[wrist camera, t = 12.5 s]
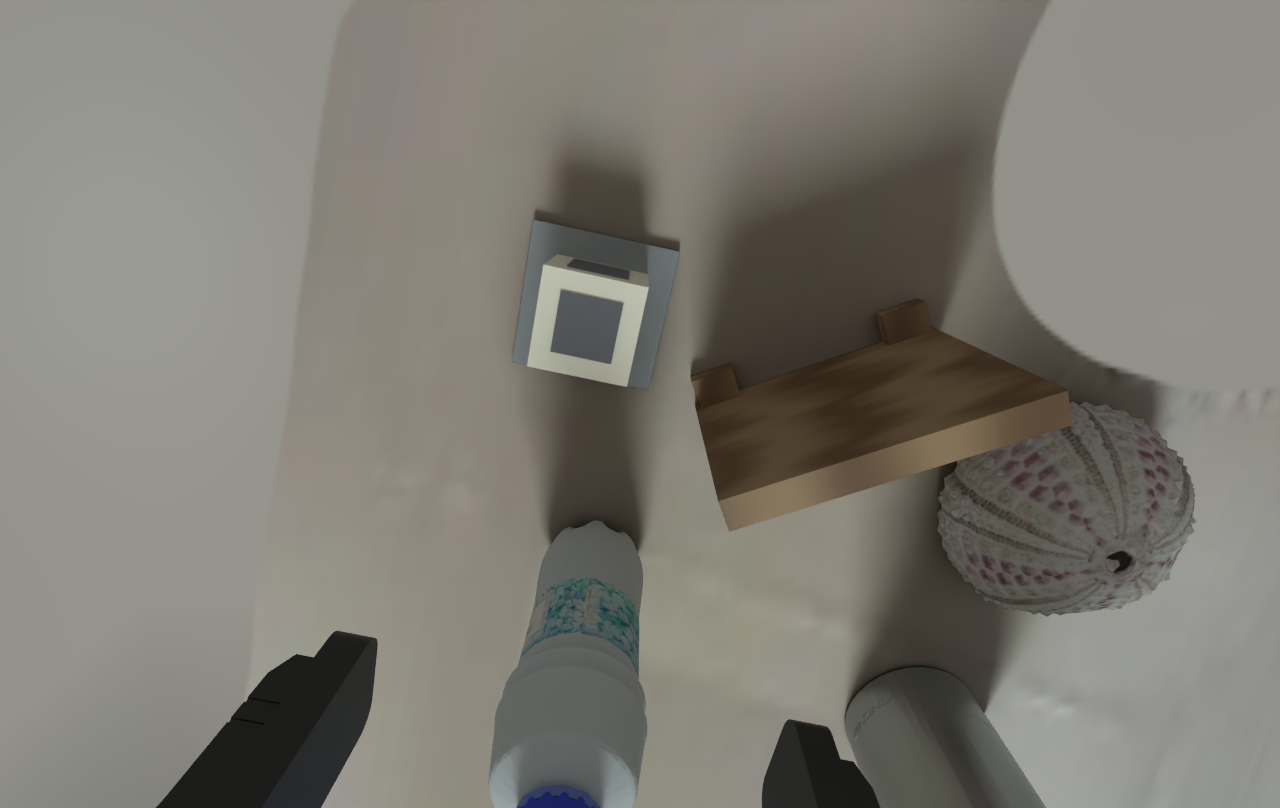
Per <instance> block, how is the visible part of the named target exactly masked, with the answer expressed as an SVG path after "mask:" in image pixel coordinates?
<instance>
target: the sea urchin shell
mask: <svg viewBox="0 0 1280 808" xmlns="http://www.w3.org/2000/svg"><path fill="white" fill-rule="evenodd" d="M1070 409H1071V416H1072V423H1073V425H1071V426H1068V427H1065V428H1061V429H1058V430H1055V431H1052V432H1048V433H1045V434H1042V435H1039V436H1036V437H1032V438H1029V439H1026V440H1023V441H1019V442H1016V443H1013V444H1010V445H1007V446H1003V447H1000V448H997V449H994V450H990V451H987V452H984V453H981V454H978V455H974V456H971V457H968V458H965V459H961V460H958V461H957V467H956V468H955V470H954V472H953V473H952V474H950V475H948V476H947V477H945V478H944V483H945V488H944V489H943V490H942V491H940V495H939V496H938V499H939V501H940V503H941V507H942V508H941V510H940V511H939V512H938V514H937V515H938V518H939V526H938V529H937V530H938V532H939V533H940V535H941V536H942V538H943V540H942V546H943V549H944V550H945V551H946V552H947V556H948V559H949V560H950V561H951V564H952V566H954V567H955V568H957V569H958V572H959V573H960V574H962V575H963V578H964V581H966V582H970V583H971V584H972V585H973V587H974V590H975V593H976V594H981V595H982V596H983V599H984V601H992V602H993V603H994V604H999V605H1000V606H1001V607H1002V608H1003V609H1007V608H1010V609H1012V610H1023V611H1029V612H1031V613H1032V614H1037V613H1041V614H1043V615H1045V616H1049V615H1051V614H1053V613H1055V614H1059V615H1063V614H1066V613H1079V612H1085V611H1095V610H1100V609H1105V608H1107V609H1110V610H1114V609H1117V608H1119V609H1120V608H1122V606H1123V605H1125V604H1126V603H1129V602H1133V601H1138V600H1140V599H1142V598H1143V597H1144V596H1147V595H1151V592H1152V591H1153V590H1155V589H1156V587H1157V585H1158V584H1159V583H1160V582H1162V581H1164V580H1170V579H1169V578H1170V569H1171V567H1172V565H1173V563H1174V562H1175V560H1176V558H1177V555H1178V553H1179V552H1180V551H1181V549H1182V547H1183V545H1184V544H1185V543H1187V542H1188V540H1187V537H1188V536H1189V535H1191V534H1192V533H1193V532H1194V530H1193V528H1192V526H1191V525H1193V524H1194V523H1196V522H1197V521H1196V520H1195V519H1194V518H1193V517H1192V515H1193V512H1194V511H1193V510H1194V501H1195V500H1194V497H1195V494H1194V488H1193V484H1192V482H1191V477H1190V475H1189V474H1188V473H1187V472H1186V470H1187V467H1186V466H1184V465H1183V458H1181V457H1178V456H1177V451H1175V450H1172V449H1169V448H1168V447H1167V441H1166V440H1164V439H1162V438H1161V435H1160V433H1159V432H1158V431H1155V430H1152V429H1150V428H1149V426H1148V424H1146V423H1144V420H1143V418H1132V417H1131V416H1130V415H1129V413H1128V412H1126V411H1124V410H1113V409H1112V408H1110V407H1109V406H1108V405H1106V404H1104V405H1098V406H1095V405H1091V404H1089V403H1088V402H1086V401H1085V402H1083V403H1082V404H1080V405H1078V404H1076V403H1075V402H1070Z"/></svg>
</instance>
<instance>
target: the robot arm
mask: <svg viewBox="0 0 1280 808" xmlns="http://www.w3.org/2000/svg"><path fill="white" fill-rule="evenodd" d="M376 656H377V639H376V638H372V637H367V636H362V635H356V634H351V633H346V632H341V631H335V632H334V633H333V634H332V635H331V636H330V637H329V638H328V640H327V641H326V642H325V643H324V645H323V646H322V647H321V649H320V650H319V651H318V653H317V654H316V655H315V657H314V658H313V657H308V656H303V655H298V654H296V655H295V656H293V657H291V658H290V659H288V660H287V661H285V662H284V663H282V664H281V665H279V666H278V667H276V668H275V669H273V670H271V671H270V672H268V673H267V675H266V676H265V677H264V678H263V679H262V681H261V682H260V683H259V684H258V686H257V687H256V688H255V689H254V690H253V692H252V693H251V694H250V695H249V696H248V699H247V701H246V702H243V704H242V705H241V706H240V707H239V709H238V710H237V711H236V712H235V714H234V715H233V716H232V717H231V720H230V722H229V723H228V722H227V723H226V724H225V726H224V727H223V728H222V729H221V730H220V732H219V733H218V734H217V736H215V738H214V739H213V740H212V741H211V743H210V744H209V745H208V746H207V747H206V749H205V750H204V751H203V752H202V753H201V755H200V756H199V757H198V758H197V760H196V761H195V762H194V763H193V764H192V766H191V767H190V768H189V769H188V770H187V772H186V773H185V774H184V775H183V776H182V778H181V779H180V780H179V781H178V783H177V784H176V785H175V786H174V787H173V789H172V790H171V791H170V792H169V793H168V795H167V796H166V797H165V798H164V799H163V801H162V802H161V803H160V804H159V805H158V806H157V807H156V808H321V806H322V804H323V803H324V801H325V799H326V797H327V795H328V794H329V792H330V790H331V788H332V786H333V785H334V783H335V781H336V779H337V777H338V776H339V774H340V772H341V770H342V768H343V766H344V765H345V763H346V761H347V759H348V757H349V756H350V754H351V752H352V750H353V748H354V747H355V745H356V743H357V741H358V739H359V737H360V735H361V733H362V731H363V729H364V726H365V724H366V721H367V718H368V715H369V712H370V708H371V703H372V695H373V685H374V676H375V666H376ZM845 728H846V734H847V737H848V740H849V742H850V745H851V748H852V750H853V753H854V756H855V758H856V761H857V764H858V766H859V769H860V770H859V769H858V767H857V766H856V765H855V763H854V762H852V761H847V760H841V759H840V757H839V754H838V751H837V748H836V745H835V742H834V739H833V736H832V734H831V731H830V730H829V728H828V727H826V726H821V725H816V724H811V723H806V722H801V721H795V720H787V721H786V723H785V724H784V727H783V729H782V732H781V734H780V737H779V740H778V742H777V745H776V748H775V751H774V753H773V756H772V759H771V761H770V764H769V767H768V769H767V772H766V775H765V778H764V783H763V790H762V808H1046V807H1045V805H1044V804H1043V802H1042V801H1041V799H1040V797H1039V796H1038V794H1037V793H1036V791H1035V790H1034V788H1033V787H1032V785H1031V784H1030V782H1029V781H1028V779H1027V778H1026V776H1025V775H1024V773H1023V771H1022V770H1021V768H1020V767H1019V765H1018V764H1017V762H1016V761H1015V759H1014V758H1013V756H1012V755H1011V753H1010V752H1009V750H1008V749H1007V747H1006V746H1005V744H1004V742H1003V741H1002V739H1001V738H1000V736H999V735H998V733H997V732H996V730H995V729H994V727H993V726H992V724H991V723H990V721H989V720H988V718H987V716H986V715H985V714H984V713H983V711H982V710H981V708H980V707H979V705H978V704H977V702H976V701H975V699H974V698H973V696H972V694H971V693H970V691H969V690H968V688H967V687H966V686H965V685H964V684H963V683H962V682H961V681H960V680H959V679H958V678H956V677H954V676H953V675H951V674H949V673H947V672H944V671H941V670H937V669H934V668H925V667H913V668H904V669H900V670H895V671H892V672H889V673H887V674H884V675H882V676H879V677H878V678H876V679H875V680H873V681H871V682H870V683H868V684H867V685H866V686H865V687H864V688H863V689H861V690H860V691H859V692H858V693H857V695H856V696H855V697H854V699H853V700H852V702H851V703H850V706H849V708H848V710H847V713H846V719H845Z"/></svg>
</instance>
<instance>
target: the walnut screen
mask: <svg viewBox="0 0 1280 808" xmlns="http://www.w3.org/2000/svg"><path fill="white" fill-rule="evenodd" d="M876 317H877V321H878V325H879V330H880V334H881V338H882V342H880V343H877V344H874V345H871V346H868V347H865V348H862V349H859V350H856V351H853V352H850V353H847V354H844V355H841V356H838V357H835V358H832V359H829V360H826V361H823V362H820V363H818V364H815V365H812V366H809V367H806V368H803V369H800V370H797V371H794V372H791V373H788V374H785V375H782V376H779V377H776V378H773V379H770V380H767V381H764V382H761V383H758V384H755V385H752V386H749V387H746V388H743V389H740V390H739V388H738V385H737V382H736V378H735V375H734V372H733V369H732V367H731V365H730V363H729V364H726V365H723V366H720V367H717V368H714V369H711V370H708V371H705V372H702V373H700V374H697V375H694V376H691V381H692V384H693V387H694V390H695V392H696V395H697V398H698V401H699V404H696V405H695V407H696V411H697V415H698V420H699V424H700V428H701V432H702V436H703V440H704V444H705V448H706V453H707V457H708V461H709V465H710V469H711V473H712V477H713V481H714V485H715V490H716V494H717V498H718V502H719V504H720V507H721V510H722V513H723V516H724V518H725V521H726V524H727V527H728V530H729V531H732V530H736V529H739V528H742V527H745V526H748V525H752V524H755V523H758V522H761V521H765V520H768V519H771V518H774V517H777V516H781V515H784V514H787V513H790V512H794V511H797V510H800V509H803V508H807V507H810V506H813V505H816V504H819V503H823V502H826V501H829V500H832V499H836V498H839V497H842V496H845V495H848V494H852V493H855V492H858V491H861V490H865V489H868V488H871V487H874V486H878V485H881V484H884V483H887V482H890V481H894V480H897V479H900V478H903V477H907V476H910V475H913V474H916V473H919V472H923V471H926V470H929V469H932V468H936V467H939V466H942V465H945V464H948V463H952V462H955V461H958V460H961V459H965V458H968V457H971V456H974V455H978V454H981V453H984V452H987V451H990V450H994V449H997V448H1000V447H1003V446H1007V445H1010V444H1013V443H1016V442H1019V441H1023V440H1026V439H1029V438H1032V437H1036V436H1039V435H1042V434H1045V433H1048V432H1052V431H1055V430H1058V429H1061V428H1065V427H1068V426H1071V425H1073V423H1072V416H1071V409H1070V402H1069V395H1068V390H1066V389H1063V388H1061V387H1059V386H1057V385H1055V384H1053V383H1051V382H1048V381H1046V380H1044V379H1042V378H1040V377H1038V376H1036V375H1034V374H1031V373H1029V372H1027V371H1025V370H1023V369H1021V368H1019V367H1016V366H1014V365H1012V364H1010V363H1008V362H1006V361H1004V360H1001V359H999V358H997V357H995V356H993V355H991V354H989V353H986V352H984V351H982V350H980V349H978V348H976V347H974V346H971V345H969V344H967V343H965V342H963V341H961V340H959V339H956V338H954V337H952V336H950V335H948V334H946V333H944V332H941V331H939V330H937V329H935V328H933V327H931V325H930V320H929V315H928V311H927V306H926V302H925V301H923V300H920V299H915V300H912V301H909V302H906V303H903V304H901V305H898V306H895V307H892V308H889V309H886V310H883V311H880V312H877V313H876Z"/></svg>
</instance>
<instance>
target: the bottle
mask: <svg viewBox="0 0 1280 808" xmlns="http://www.w3.org/2000/svg"><path fill="white" fill-rule="evenodd" d="M642 588H643V571H642V565H641V561H640V558H639V555H638V553H637V551H636V548H635V545H634V543H633V541H632V540H631V538H630V537H629V536H628V535H627V534H626V533H625V532H618V533H617V532H615V531H613V530H611V529H609V528H608V527H606V526H605V524H604V523H603V522H602V521H591V522H590V523H588V524H586V525H585V526H582V527H579V528H573V527H567V528H565V529H564V530H563V531H561V532H560V533H559V535H558V536H557V537H556V538H555V540H554V541H553V543H552V544H551V546H550V547H549V549H548V550H547V552H546V554H545V556H544V559H543V561H542V565H541V568H540V573H539V578H538V584H537V591H536V598H535V604H534V608H533V612H532V616H531V619H530V623H529V627H528V631H527V634H526V638H525V642H524V646H523V649H522V653H521V657H520V661H519V664H518V667H517V668H516V669H515V670H514V671H513V672H512V674H511V676H510V677H509V679H508V680H507V682H506V685H505V688H504V691H503V697H502V699H501V701H500V703H499V705H498V707H497V710H496V714H495V730H494V739H493V748H492V756H491V764H490V773H489V781H488V783H489V793H490V796H491V799H492V802H493V805H494V807H495V808H633V806H634V803H635V800H636V797H637V791H638V784H639V777H640V770H641V763H642V756H643V751H644V746H645V741H646V737H647V719H646V715H645V711H646V700H645V695H644V691H643V688H642V686H641V684H640V682H639V613H640V605H641V597H642Z"/></svg>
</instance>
